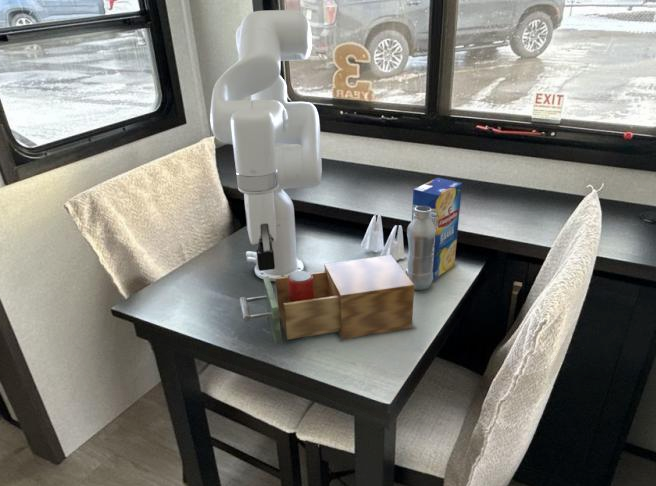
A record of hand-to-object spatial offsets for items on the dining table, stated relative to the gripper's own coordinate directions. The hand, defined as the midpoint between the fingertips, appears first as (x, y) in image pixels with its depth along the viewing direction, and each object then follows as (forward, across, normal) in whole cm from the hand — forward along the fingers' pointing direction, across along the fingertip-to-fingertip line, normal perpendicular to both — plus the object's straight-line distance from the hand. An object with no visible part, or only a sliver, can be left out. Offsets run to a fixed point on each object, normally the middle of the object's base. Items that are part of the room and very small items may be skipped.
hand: (266, 268), depth 111 cm
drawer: (+14, 0, +4) cm, 15 cm away
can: (+13, 0, +7) cm, 15 cm away
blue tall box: (+15, -18, +43) cm, 49 cm away
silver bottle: (+15, -10, +37) cm, 41 cm away
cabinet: (+15, 0, +21) cm, 26 cm away
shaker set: (+16, -29, +34) cm, 47 cm away
